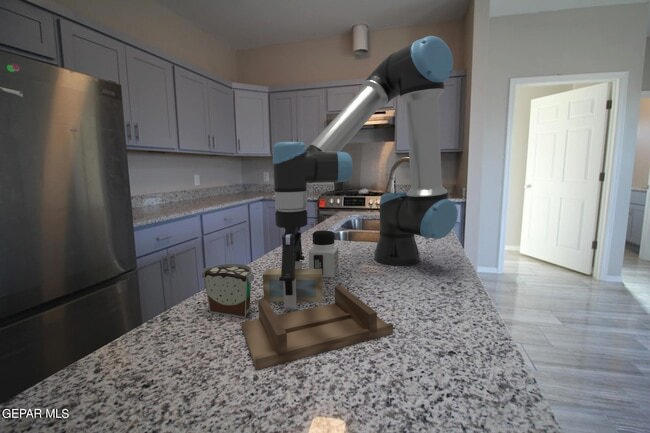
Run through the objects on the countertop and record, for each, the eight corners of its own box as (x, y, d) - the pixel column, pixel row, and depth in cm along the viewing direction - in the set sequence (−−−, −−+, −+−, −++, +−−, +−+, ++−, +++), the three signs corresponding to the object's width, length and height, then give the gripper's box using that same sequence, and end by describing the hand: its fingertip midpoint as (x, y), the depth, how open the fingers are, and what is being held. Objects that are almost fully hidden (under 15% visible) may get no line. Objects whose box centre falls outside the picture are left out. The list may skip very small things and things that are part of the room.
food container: (266, 307, 72) (264, 265, 71) (251, 319, 66) (249, 273, 65) (221, 300, 76) (218, 260, 75) (204, 311, 70) (200, 268, 69)
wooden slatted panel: (354, 303, 73) (354, 282, 72) (392, 333, 59) (393, 308, 59) (241, 326, 63) (240, 303, 62) (256, 369, 49) (254, 340, 49)
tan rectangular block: (322, 295, 79) (322, 268, 77) (322, 302, 74) (321, 274, 73) (267, 295, 79) (266, 268, 78) (263, 302, 75) (262, 274, 74)
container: (334, 278, 90) (333, 234, 88) (308, 276, 92) (307, 233, 90) (338, 269, 98) (338, 228, 96) (314, 268, 99) (313, 228, 97)
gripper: (283, 203, 86) (286, 277, 89) (263, 217, 61) (268, 319, 64) (311, 203, 86) (312, 277, 89) (301, 217, 61) (304, 319, 64)
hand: (294, 295), depth 77 cm, fingers open, 13 cm apart
